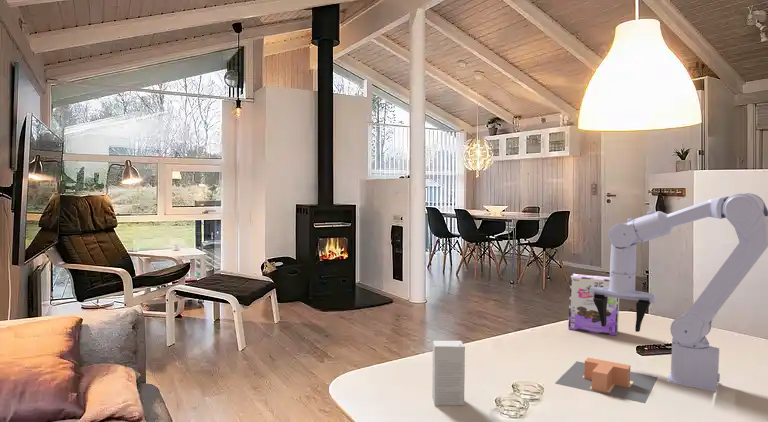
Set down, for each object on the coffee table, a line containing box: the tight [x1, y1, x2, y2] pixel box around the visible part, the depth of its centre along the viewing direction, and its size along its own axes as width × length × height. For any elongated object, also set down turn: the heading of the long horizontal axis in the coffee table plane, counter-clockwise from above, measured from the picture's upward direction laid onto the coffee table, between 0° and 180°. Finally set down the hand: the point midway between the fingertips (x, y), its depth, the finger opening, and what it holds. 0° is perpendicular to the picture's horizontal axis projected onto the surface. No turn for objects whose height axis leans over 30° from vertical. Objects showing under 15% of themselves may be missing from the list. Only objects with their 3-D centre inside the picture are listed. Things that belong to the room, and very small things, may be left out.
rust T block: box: [584, 357, 631, 393], centre depth 118 cm, size 9×9×4 cm
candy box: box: [567, 273, 620, 336], centre depth 164 cm, size 14×6×16 cm, turn 62°
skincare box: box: [431, 340, 466, 407], centre depth 109 cm, size 6×4×12 cm
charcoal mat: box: [554, 361, 658, 404], centre depth 121 cm, size 18×18×1 cm
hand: (620, 328), depth 132 cm, fingers open, 7 cm apart
